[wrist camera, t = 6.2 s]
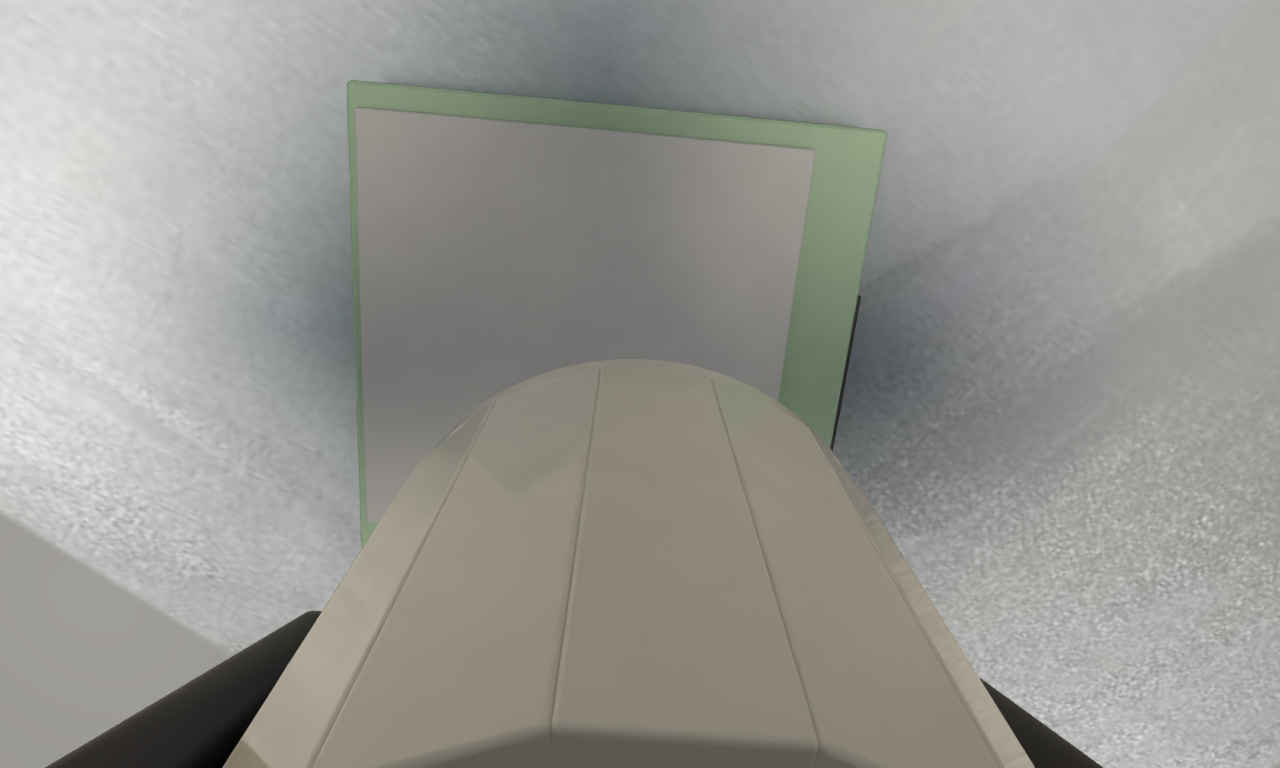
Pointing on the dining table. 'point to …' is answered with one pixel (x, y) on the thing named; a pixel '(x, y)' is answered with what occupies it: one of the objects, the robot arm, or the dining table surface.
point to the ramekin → (629, 601)
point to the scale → (590, 254)
